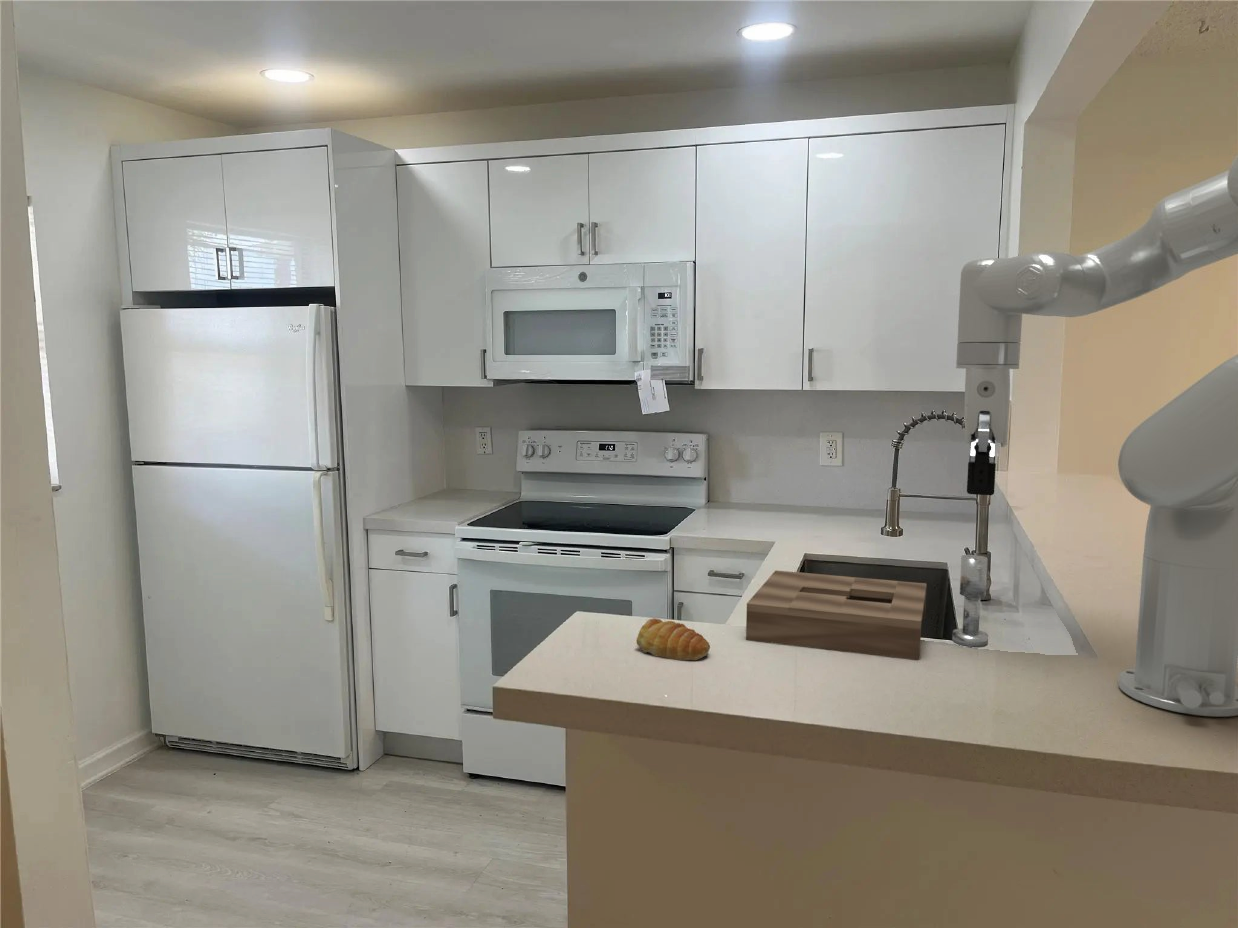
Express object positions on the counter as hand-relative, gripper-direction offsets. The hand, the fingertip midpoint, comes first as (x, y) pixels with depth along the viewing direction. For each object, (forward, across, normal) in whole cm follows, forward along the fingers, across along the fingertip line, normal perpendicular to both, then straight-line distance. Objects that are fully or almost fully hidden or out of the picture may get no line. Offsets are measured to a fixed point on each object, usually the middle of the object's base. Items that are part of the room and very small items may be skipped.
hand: (980, 489), depth 117 cm
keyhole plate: (+20, -1, +18) cm, 28 cm away
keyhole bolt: (+20, -1, 0) cm, 21 cm away
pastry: (+21, -19, +36) cm, 46 cm away
